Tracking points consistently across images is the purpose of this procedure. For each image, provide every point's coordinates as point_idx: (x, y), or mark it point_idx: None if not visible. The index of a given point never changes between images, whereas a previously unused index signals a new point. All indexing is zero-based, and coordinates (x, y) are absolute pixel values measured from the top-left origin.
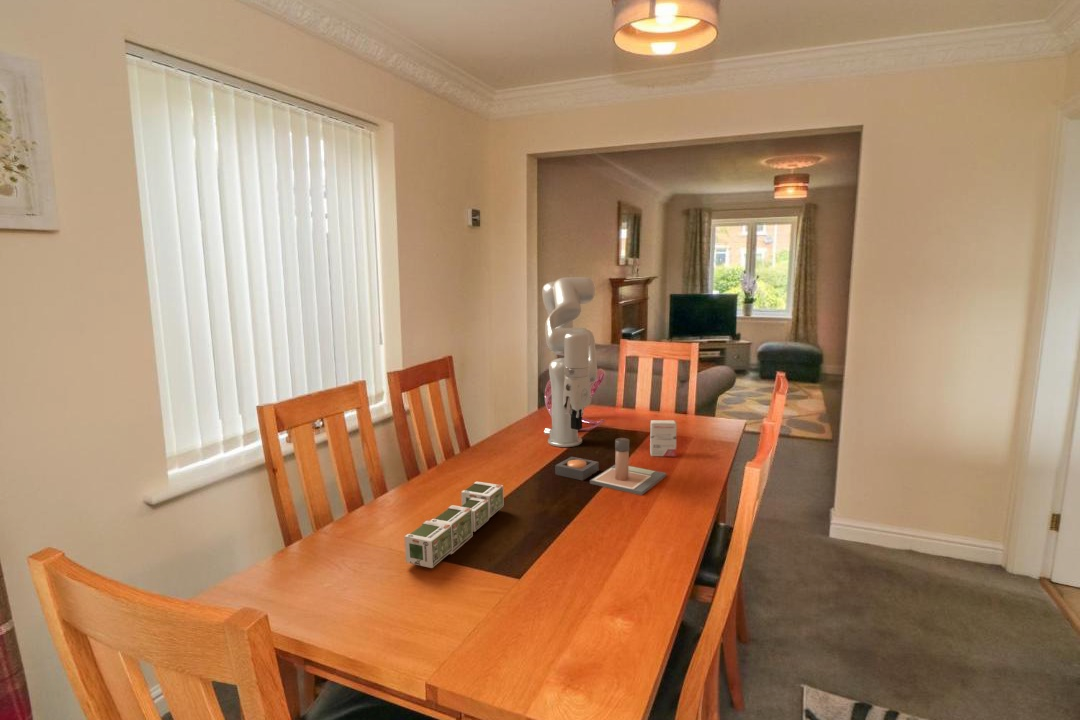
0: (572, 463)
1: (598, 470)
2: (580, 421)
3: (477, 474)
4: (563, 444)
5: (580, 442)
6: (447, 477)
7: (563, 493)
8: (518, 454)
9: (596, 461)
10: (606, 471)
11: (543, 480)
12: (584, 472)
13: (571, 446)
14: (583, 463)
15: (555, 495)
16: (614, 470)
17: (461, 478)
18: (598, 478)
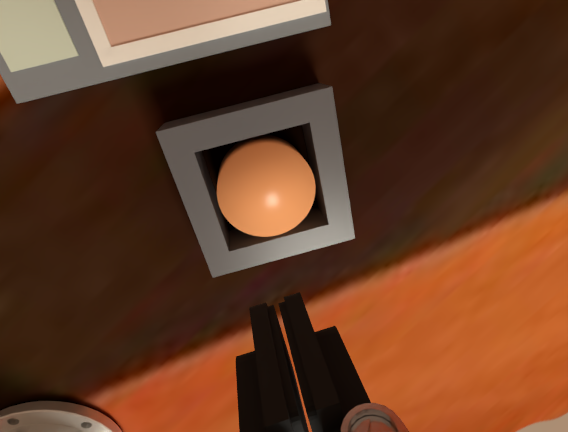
0: (291, 200)
1: (164, 123)
2: (288, 366)
3: (488, 359)
4: (95, 421)
5: (2, 413)
6: (544, 380)
7: (492, 32)
8: None
9: (161, 144)
10: (170, 45)
11: (418, 202)
12: (310, 90)
13: (64, 402)
14: (250, 162)
15: (526, 43)
16: (116, 22)
17: (534, 358)
18: (281, 3)
